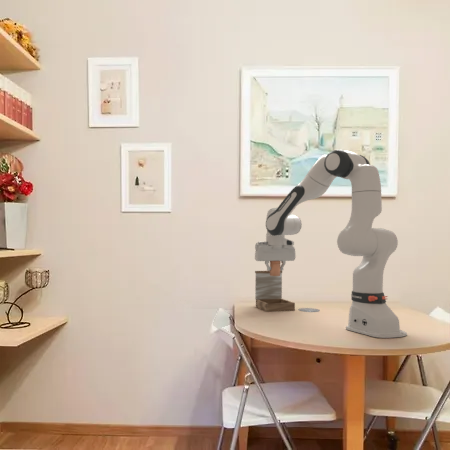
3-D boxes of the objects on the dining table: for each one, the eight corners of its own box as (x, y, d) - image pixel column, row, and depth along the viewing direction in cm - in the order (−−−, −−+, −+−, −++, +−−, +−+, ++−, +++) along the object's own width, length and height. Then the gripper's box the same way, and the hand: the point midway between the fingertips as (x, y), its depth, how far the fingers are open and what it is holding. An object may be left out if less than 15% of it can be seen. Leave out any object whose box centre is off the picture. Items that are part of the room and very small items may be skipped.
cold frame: (295, 311, 194) (295, 273, 194) (266, 312, 189) (267, 273, 190) (281, 306, 208) (281, 270, 208) (254, 307, 203) (255, 270, 204)
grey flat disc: (324, 312, 192) (324, 311, 192) (304, 313, 189) (304, 312, 189) (312, 308, 201) (312, 307, 201) (294, 309, 198) (294, 308, 198)
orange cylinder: (282, 275, 197) (282, 261, 197) (272, 276, 195) (272, 261, 196) (277, 274, 202) (277, 260, 202) (268, 275, 200) (268, 260, 200)
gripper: (257, 241, 193) (257, 271, 192) (297, 241, 199) (297, 270, 199) (252, 241, 199) (252, 270, 198) (291, 241, 205) (290, 269, 205)
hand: (275, 270), depth 199 cm, fingers closed on orange cylinder, 5 cm apart
